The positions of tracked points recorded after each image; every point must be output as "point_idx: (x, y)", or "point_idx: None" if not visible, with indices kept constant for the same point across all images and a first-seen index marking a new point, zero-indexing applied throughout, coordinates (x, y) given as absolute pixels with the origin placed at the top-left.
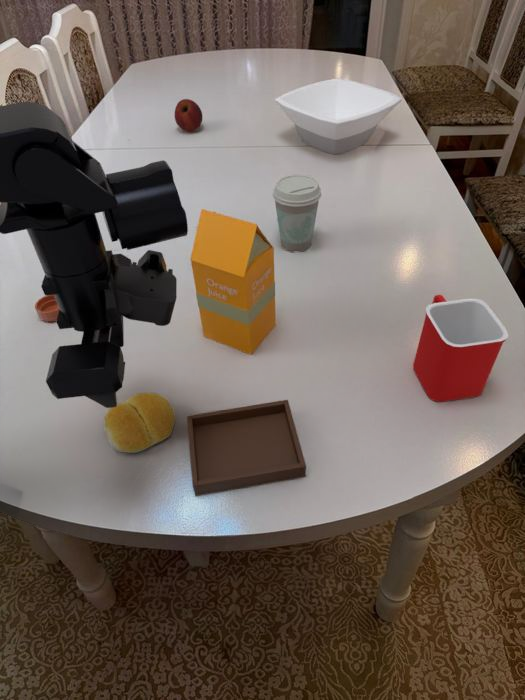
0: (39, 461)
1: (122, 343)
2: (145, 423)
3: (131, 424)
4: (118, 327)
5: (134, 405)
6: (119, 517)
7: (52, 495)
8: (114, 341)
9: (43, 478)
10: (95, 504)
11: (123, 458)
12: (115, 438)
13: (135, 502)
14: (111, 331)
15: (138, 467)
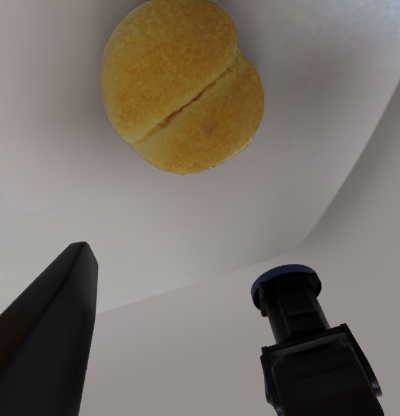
0: (243, 235)
1: (80, 253)
2: (216, 78)
3: (229, 114)
4: (44, 343)
5: (161, 119)
6: (382, 90)
7: (306, 203)
8: (89, 287)
9: (274, 222)
10: (341, 138)
11: None
12: (248, 140)
13: (362, 65)
14: (71, 344)
15: (283, 75)
